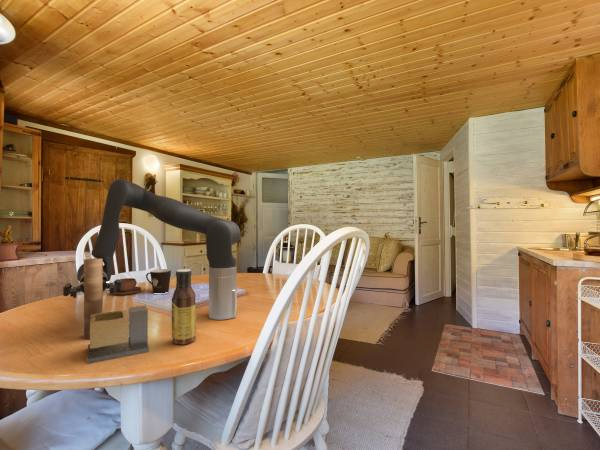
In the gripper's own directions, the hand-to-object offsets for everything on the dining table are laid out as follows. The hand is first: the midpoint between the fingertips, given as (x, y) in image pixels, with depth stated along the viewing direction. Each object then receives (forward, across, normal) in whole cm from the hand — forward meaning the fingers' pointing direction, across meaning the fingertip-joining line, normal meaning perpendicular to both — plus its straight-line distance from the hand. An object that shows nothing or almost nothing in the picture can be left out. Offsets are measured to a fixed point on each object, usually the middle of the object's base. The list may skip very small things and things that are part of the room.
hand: (93, 292), depth 88 cm
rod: (-2, 0, +13) cm, 13 cm away
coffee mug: (-49, +24, +13) cm, 57 cm away
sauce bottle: (+15, +21, +13) cm, 29 cm away
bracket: (+12, +6, +13) cm, 19 cm away
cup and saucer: (-55, +12, +13) cm, 57 cm away
